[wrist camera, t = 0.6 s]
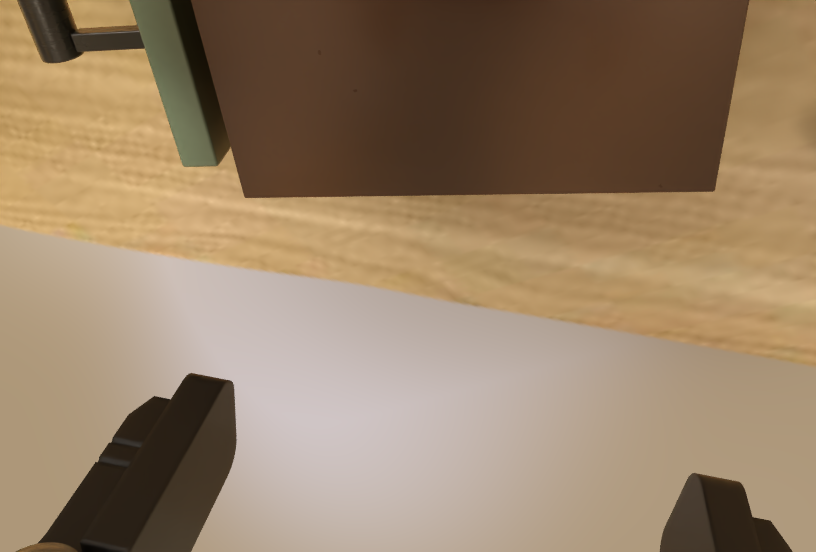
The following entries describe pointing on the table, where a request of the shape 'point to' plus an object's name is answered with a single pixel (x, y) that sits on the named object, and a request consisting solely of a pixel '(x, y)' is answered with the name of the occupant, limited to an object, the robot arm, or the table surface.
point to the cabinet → (473, 94)
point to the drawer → (169, 58)
